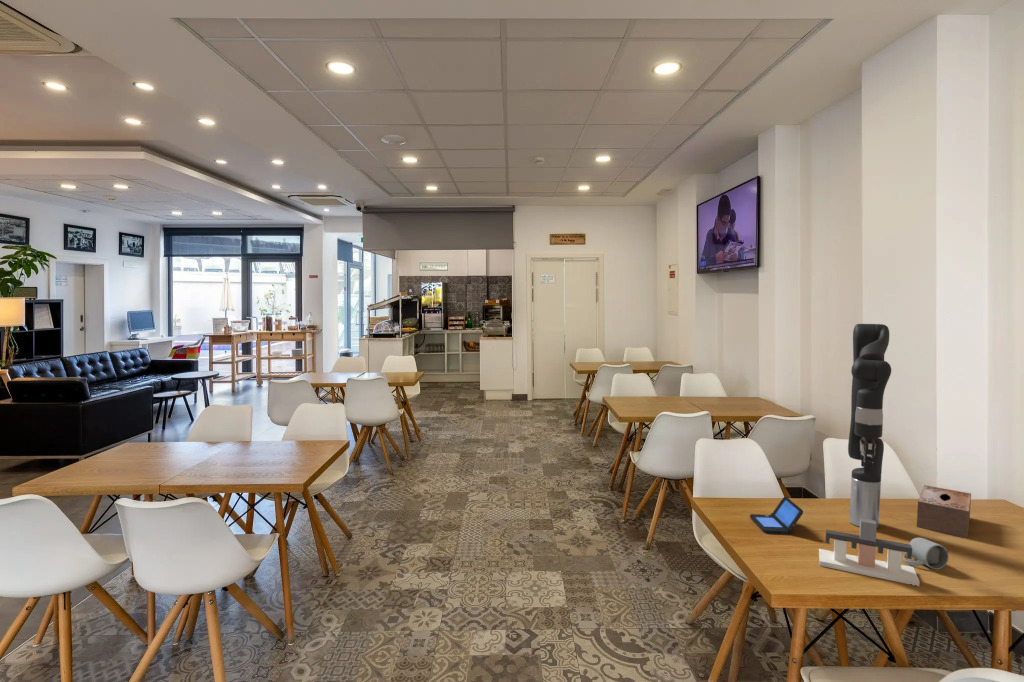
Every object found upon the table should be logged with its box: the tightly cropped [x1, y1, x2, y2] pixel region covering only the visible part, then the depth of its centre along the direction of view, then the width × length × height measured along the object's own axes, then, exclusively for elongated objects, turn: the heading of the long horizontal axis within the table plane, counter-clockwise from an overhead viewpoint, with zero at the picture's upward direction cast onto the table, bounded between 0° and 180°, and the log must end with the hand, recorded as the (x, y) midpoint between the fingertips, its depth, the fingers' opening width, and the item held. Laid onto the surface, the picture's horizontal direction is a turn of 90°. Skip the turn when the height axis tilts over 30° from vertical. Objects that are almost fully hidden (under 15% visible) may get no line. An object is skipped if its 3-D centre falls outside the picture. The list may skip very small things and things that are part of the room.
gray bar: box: [825, 518, 913, 560], centre depth 164 cm, size 3×22×9 cm, turn 61°
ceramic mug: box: [902, 537, 949, 570], centre depth 168 cm, size 11×8×8 cm
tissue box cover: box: [916, 484, 972, 539], centre depth 202 cm, size 26×14×10 cm, turn 138°
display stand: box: [818, 539, 920, 587], centre depth 164 cm, size 10×25×8 cm, turn 61°
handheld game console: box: [749, 496, 804, 535], centre depth 197 cm, size 16×13×9 cm
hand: (866, 470), depth 173 cm, fingers open, 8 cm apart
